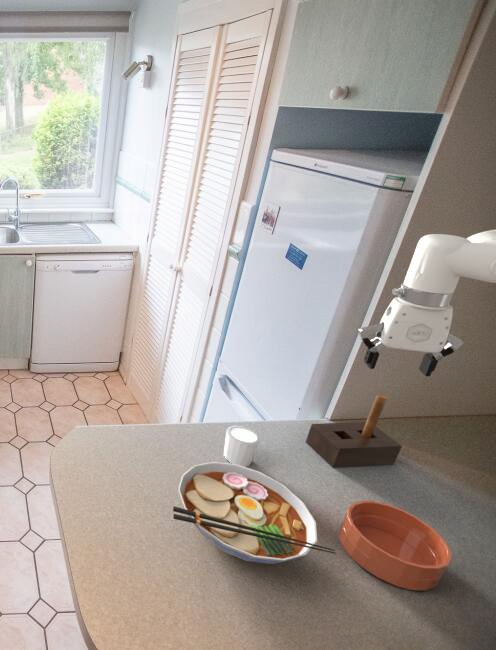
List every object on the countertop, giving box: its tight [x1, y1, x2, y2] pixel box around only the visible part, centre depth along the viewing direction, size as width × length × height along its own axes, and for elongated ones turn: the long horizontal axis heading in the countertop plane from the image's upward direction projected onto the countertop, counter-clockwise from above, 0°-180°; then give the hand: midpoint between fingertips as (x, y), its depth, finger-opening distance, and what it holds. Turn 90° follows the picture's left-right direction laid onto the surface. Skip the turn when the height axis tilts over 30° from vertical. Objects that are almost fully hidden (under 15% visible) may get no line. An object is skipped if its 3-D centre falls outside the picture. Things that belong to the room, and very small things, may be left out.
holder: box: [305, 421, 403, 469], centre depth 106 cm, size 9×15×6 cm, turn 93°
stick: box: [362, 393, 388, 438], centre depth 104 cm, size 2×2×16 cm
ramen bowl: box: [172, 461, 336, 565], centre depth 85 cm, size 25×23×8 cm
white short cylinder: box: [223, 424, 261, 468], centre depth 104 cm, size 7×7×7 cm
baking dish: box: [338, 500, 453, 591], centre depth 81 cm, size 14×14×6 cm
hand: (396, 369), depth 98 cm, fingers open, 9 cm apart
